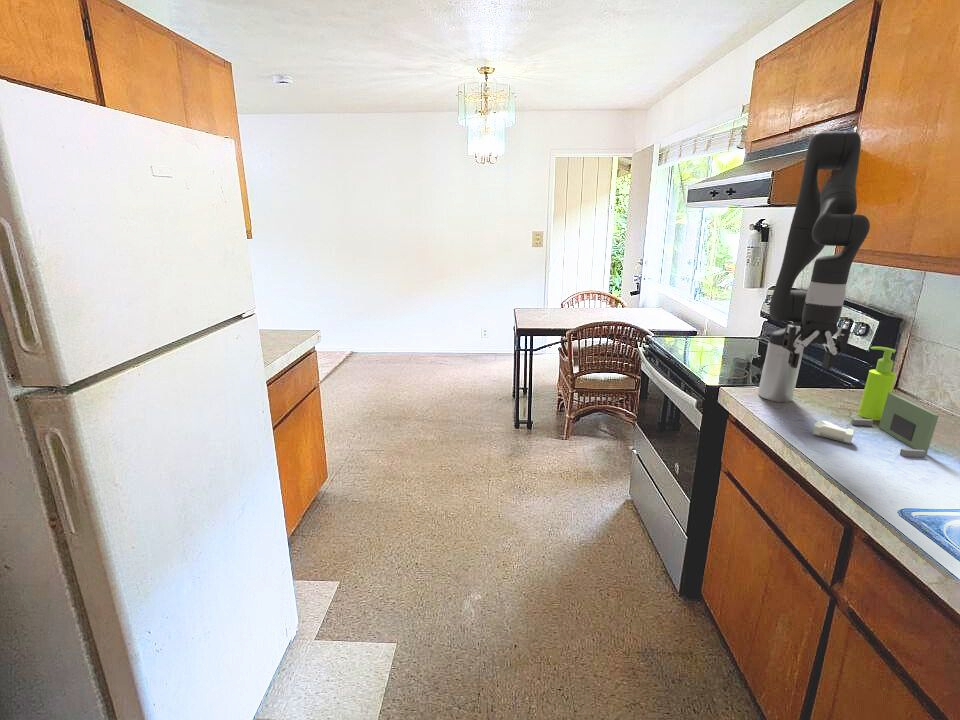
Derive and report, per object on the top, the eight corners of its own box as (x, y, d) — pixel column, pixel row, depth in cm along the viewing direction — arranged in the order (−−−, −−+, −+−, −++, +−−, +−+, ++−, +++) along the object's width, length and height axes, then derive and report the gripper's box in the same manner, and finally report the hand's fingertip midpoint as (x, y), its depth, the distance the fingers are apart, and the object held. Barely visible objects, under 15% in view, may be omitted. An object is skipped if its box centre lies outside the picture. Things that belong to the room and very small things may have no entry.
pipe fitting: (815, 430, 131) (811, 436, 126) (818, 416, 130) (815, 422, 125) (851, 439, 126) (849, 446, 121) (855, 425, 125) (853, 431, 120)
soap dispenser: (855, 409, 145) (873, 343, 139) (885, 416, 140) (904, 348, 134) (851, 414, 141) (869, 347, 135) (882, 422, 136) (901, 352, 130)
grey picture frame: (850, 423, 135) (859, 389, 132) (877, 424, 134) (887, 390, 131) (902, 456, 117) (913, 417, 114) (933, 457, 116) (945, 418, 114)
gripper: (845, 300, 120) (829, 364, 125) (784, 298, 121) (771, 362, 126) (866, 305, 113) (849, 373, 118) (801, 303, 114) (787, 371, 119)
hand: (809, 367), depth 122 cm, fingers open, 7 cm apart
